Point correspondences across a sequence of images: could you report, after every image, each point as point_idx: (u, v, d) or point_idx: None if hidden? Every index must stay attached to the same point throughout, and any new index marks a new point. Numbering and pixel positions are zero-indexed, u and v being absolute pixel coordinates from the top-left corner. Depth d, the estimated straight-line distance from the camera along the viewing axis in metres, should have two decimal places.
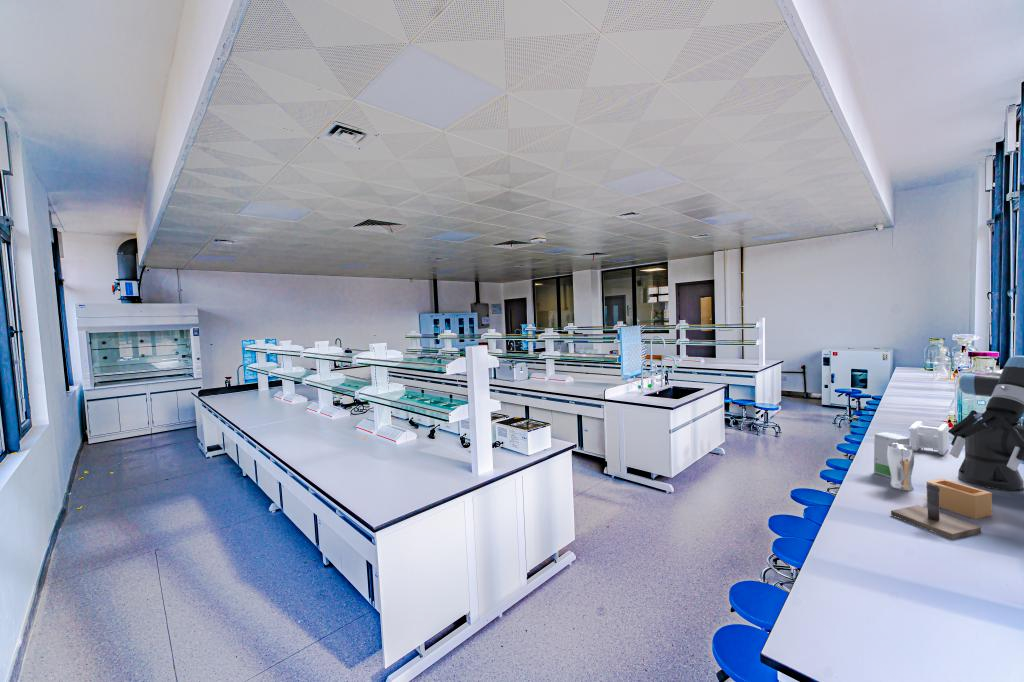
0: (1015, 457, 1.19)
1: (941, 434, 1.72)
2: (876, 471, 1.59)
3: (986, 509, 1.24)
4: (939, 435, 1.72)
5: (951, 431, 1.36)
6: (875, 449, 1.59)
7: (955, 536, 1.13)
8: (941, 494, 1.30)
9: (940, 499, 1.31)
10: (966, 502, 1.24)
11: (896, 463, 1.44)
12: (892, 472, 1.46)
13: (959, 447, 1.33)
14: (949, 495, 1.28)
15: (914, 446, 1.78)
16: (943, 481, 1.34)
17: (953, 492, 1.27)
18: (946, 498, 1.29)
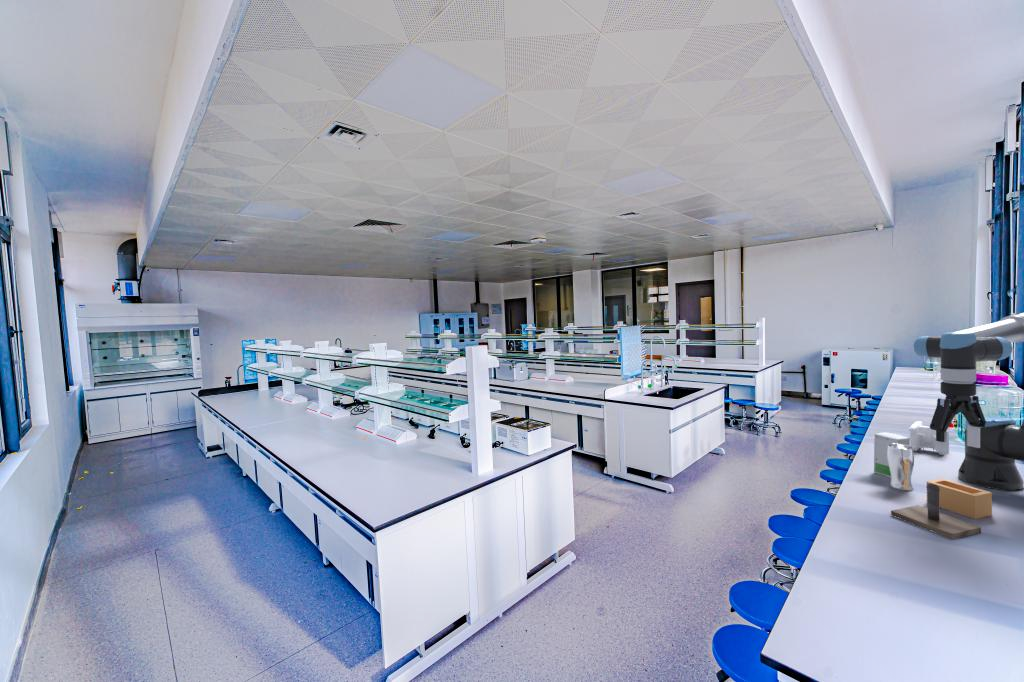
0: None
1: None
2: (876, 471, 1.59)
3: (986, 509, 1.24)
4: None
5: None
6: (875, 449, 1.59)
7: (955, 536, 1.13)
8: (941, 494, 1.30)
9: (940, 499, 1.31)
10: (966, 502, 1.24)
11: (896, 463, 1.44)
12: (892, 472, 1.46)
13: (973, 436, 1.30)
14: (949, 495, 1.28)
15: (914, 446, 1.78)
16: (943, 481, 1.34)
17: (953, 492, 1.27)
18: (946, 498, 1.29)
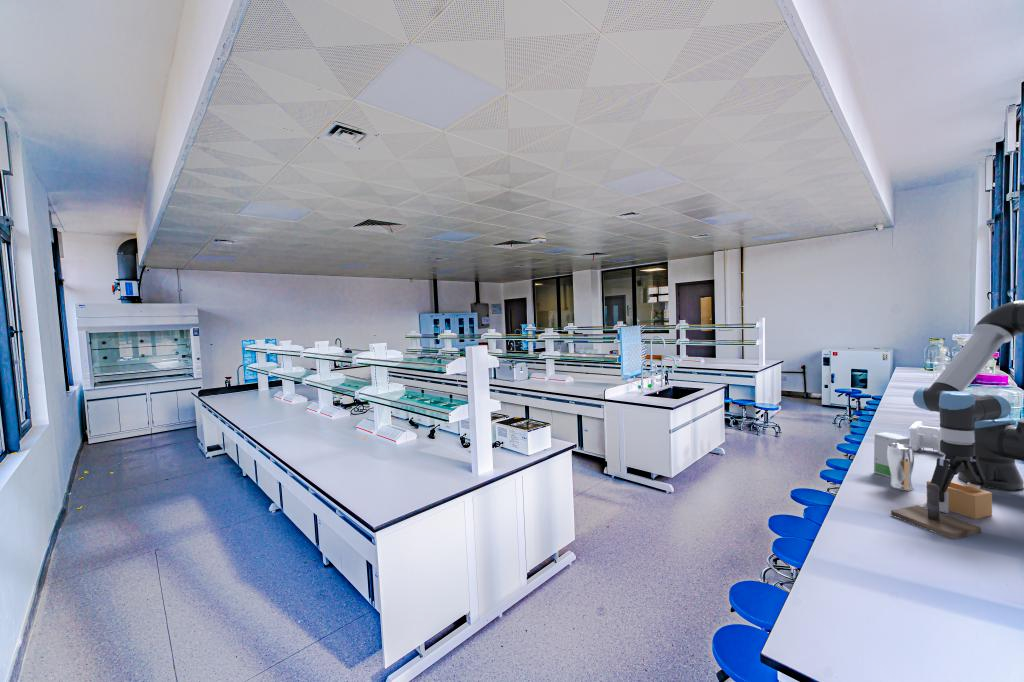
0: None
1: None
2: (876, 471, 1.59)
3: (986, 509, 1.24)
4: (939, 435, 1.72)
5: None
6: (875, 449, 1.59)
7: (955, 536, 1.13)
8: None
9: None
10: (966, 502, 1.24)
11: (896, 463, 1.44)
12: (892, 472, 1.46)
13: None
14: (949, 495, 1.28)
15: (914, 446, 1.78)
16: None
17: (953, 492, 1.27)
18: None
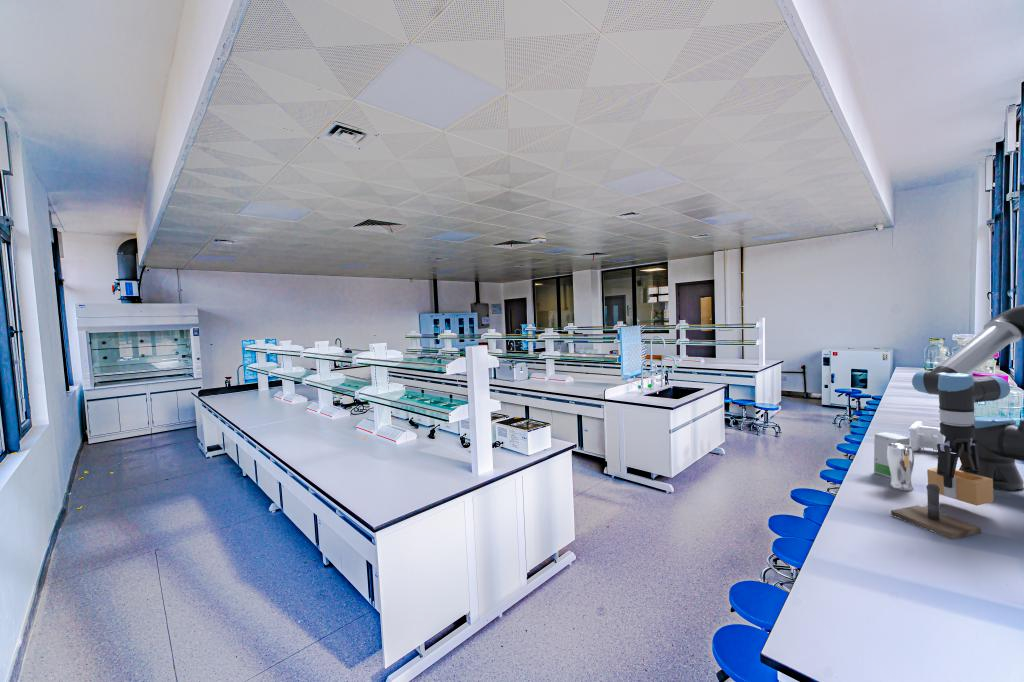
0: None
1: (941, 434, 1.72)
2: (876, 471, 1.59)
3: (987, 495, 1.23)
4: (939, 435, 1.72)
5: None
6: (875, 449, 1.59)
7: (955, 536, 1.13)
8: (942, 482, 1.30)
9: (941, 487, 1.31)
10: (967, 489, 1.24)
11: (896, 463, 1.44)
12: (892, 472, 1.46)
13: None
14: None
15: (914, 446, 1.78)
16: None
17: None
18: None
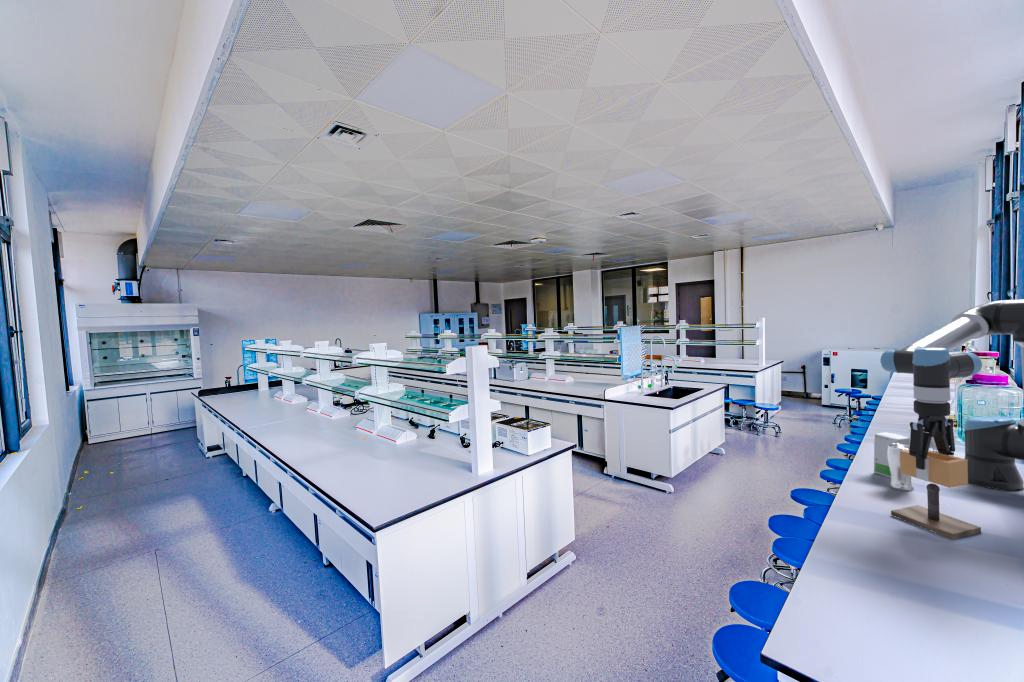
0: None
1: None
2: (876, 471, 1.59)
3: (961, 477, 1.15)
4: None
5: None
6: (875, 449, 1.59)
7: (955, 536, 1.13)
8: (914, 463, 1.22)
9: (914, 468, 1.22)
10: (940, 470, 1.16)
11: (896, 463, 1.44)
12: (892, 472, 1.46)
13: None
14: None
15: None
16: None
17: None
18: None
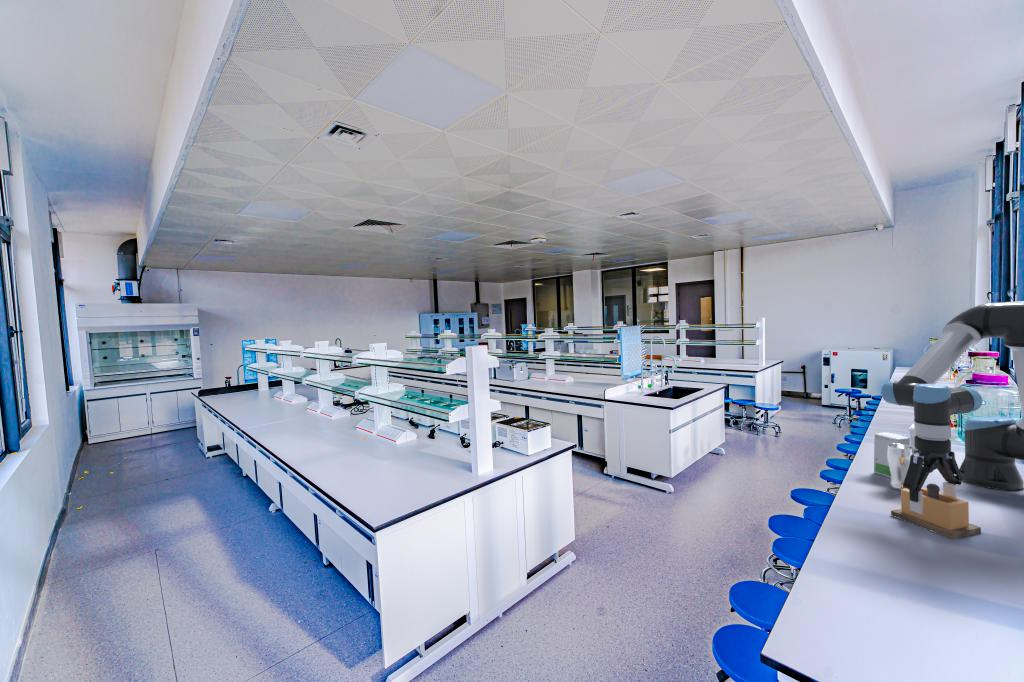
0: None
1: None
2: (876, 471, 1.59)
3: (962, 519, 1.16)
4: None
5: None
6: (875, 449, 1.59)
7: (955, 536, 1.13)
8: None
9: None
10: (941, 512, 1.17)
11: (896, 463, 1.44)
12: (892, 472, 1.46)
13: (949, 494, 1.23)
14: (924, 504, 1.21)
15: (914, 446, 1.78)
16: None
17: (928, 501, 1.20)
18: None
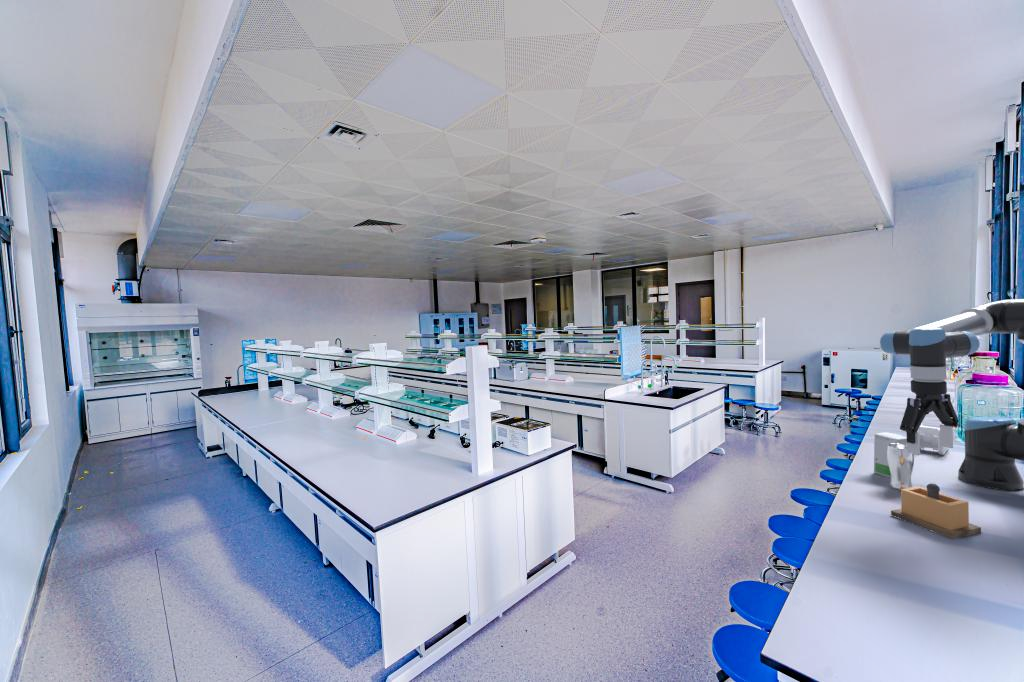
0: None
1: None
2: (876, 471, 1.59)
3: (962, 519, 1.16)
4: (939, 435, 1.72)
5: None
6: (875, 449, 1.59)
7: (955, 536, 1.13)
8: (916, 503, 1.23)
9: (915, 508, 1.23)
10: (941, 512, 1.17)
11: (896, 463, 1.44)
12: (892, 472, 1.46)
13: (945, 436, 1.24)
14: (924, 504, 1.21)
15: None
16: (919, 489, 1.26)
17: (928, 501, 1.20)
18: (921, 507, 1.21)
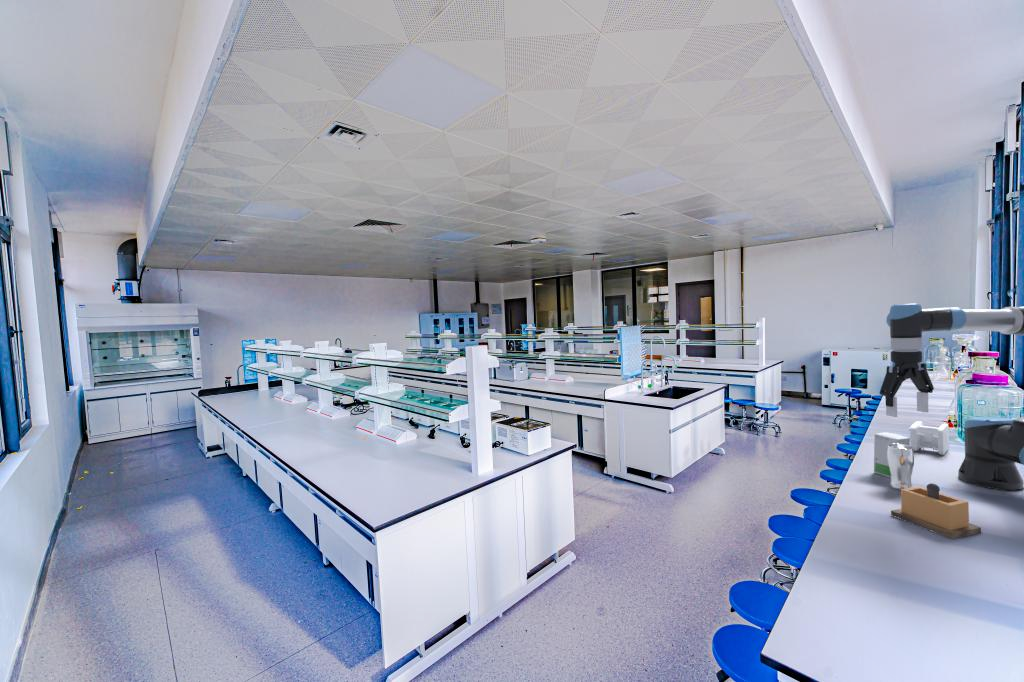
0: None
1: (941, 434, 1.72)
2: (876, 471, 1.59)
3: (962, 519, 1.16)
4: (939, 435, 1.72)
5: None
6: (875, 449, 1.59)
7: (955, 536, 1.13)
8: (916, 503, 1.23)
9: (915, 508, 1.23)
10: (941, 512, 1.17)
11: (896, 463, 1.44)
12: (893, 472, 1.46)
13: (922, 402, 1.38)
14: (924, 504, 1.21)
15: (914, 446, 1.78)
16: (919, 489, 1.26)
17: (928, 501, 1.20)
18: (921, 507, 1.21)
